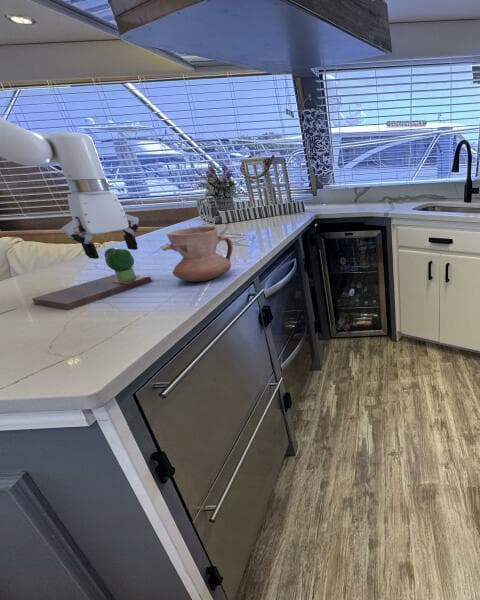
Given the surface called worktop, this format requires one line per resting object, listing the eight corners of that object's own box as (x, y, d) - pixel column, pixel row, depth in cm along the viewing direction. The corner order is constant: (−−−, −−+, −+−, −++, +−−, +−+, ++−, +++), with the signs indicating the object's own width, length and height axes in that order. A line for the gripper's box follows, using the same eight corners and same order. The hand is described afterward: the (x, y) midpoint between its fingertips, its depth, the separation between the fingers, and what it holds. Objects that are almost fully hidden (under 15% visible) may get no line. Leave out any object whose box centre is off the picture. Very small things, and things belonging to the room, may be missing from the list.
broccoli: (124, 284, 87) (111, 251, 84) (107, 282, 89) (94, 250, 86) (147, 277, 92) (135, 246, 89) (130, 275, 95) (118, 245, 91)
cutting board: (69, 309, 77) (65, 303, 76) (34, 303, 81) (31, 297, 80) (152, 281, 94) (150, 275, 93) (120, 277, 98) (118, 272, 98)
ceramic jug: (179, 291, 85) (162, 238, 79) (167, 279, 94) (150, 231, 89) (248, 274, 96) (237, 226, 91) (231, 265, 106) (219, 222, 100)
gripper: (117, 185, 90) (137, 245, 96) (35, 189, 74) (67, 261, 81) (135, 185, 87) (155, 247, 94) (55, 189, 72) (86, 263, 79)
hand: (114, 253), depth 87 cm, fingers open, 9 cm apart
